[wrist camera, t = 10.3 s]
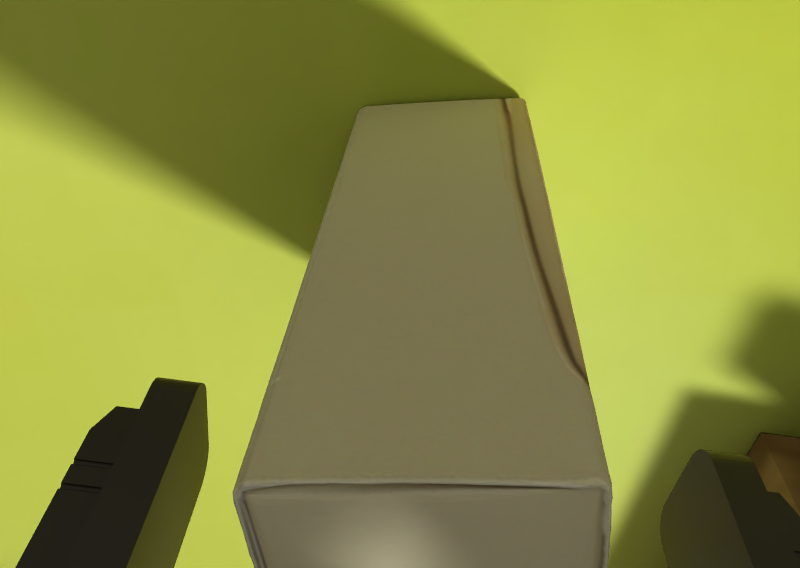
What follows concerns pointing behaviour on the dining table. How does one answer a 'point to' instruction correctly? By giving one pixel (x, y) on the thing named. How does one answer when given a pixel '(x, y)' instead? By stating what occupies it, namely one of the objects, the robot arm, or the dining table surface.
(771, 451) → the dock
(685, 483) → the robot arm
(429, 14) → the dining table surface
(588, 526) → the skincare box
